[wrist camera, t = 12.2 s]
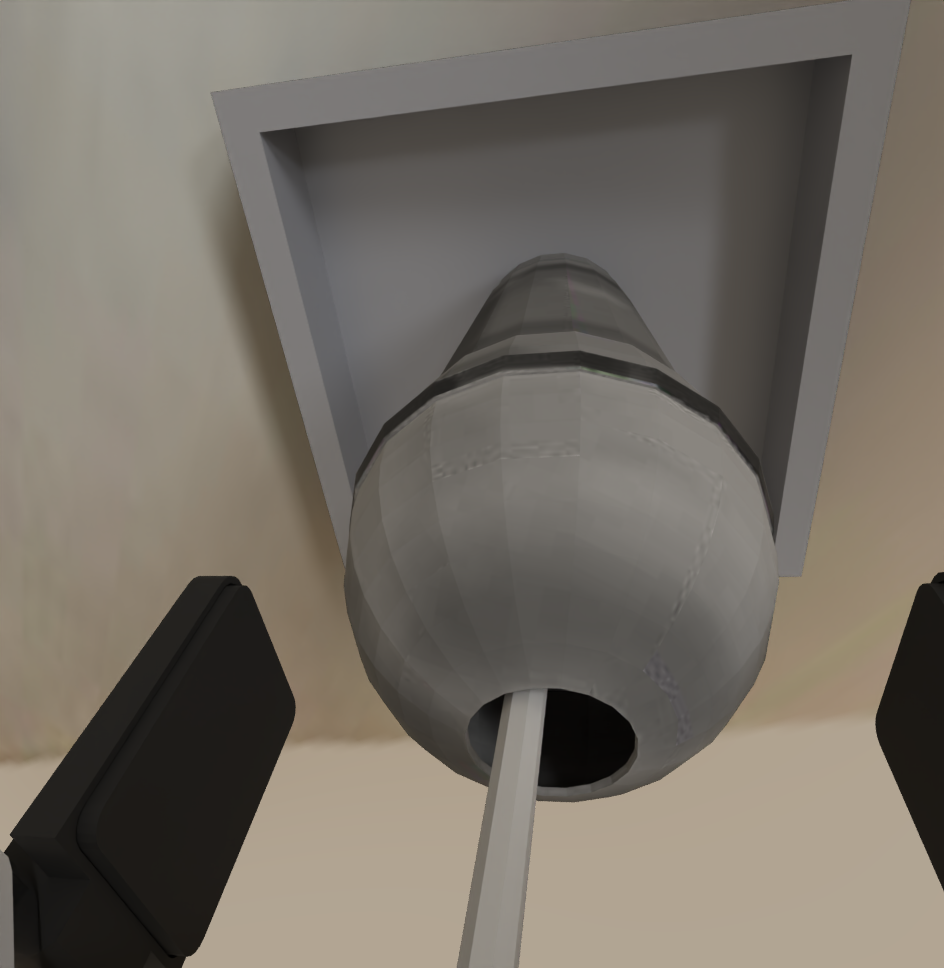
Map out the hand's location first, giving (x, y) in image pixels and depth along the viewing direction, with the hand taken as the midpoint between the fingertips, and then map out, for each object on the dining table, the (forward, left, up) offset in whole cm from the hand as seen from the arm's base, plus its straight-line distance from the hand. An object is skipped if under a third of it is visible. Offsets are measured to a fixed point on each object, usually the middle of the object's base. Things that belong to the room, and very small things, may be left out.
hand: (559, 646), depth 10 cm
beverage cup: (0, 0, -14) cm, 14 cm away
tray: (0, 0, -15) cm, 15 cm away
